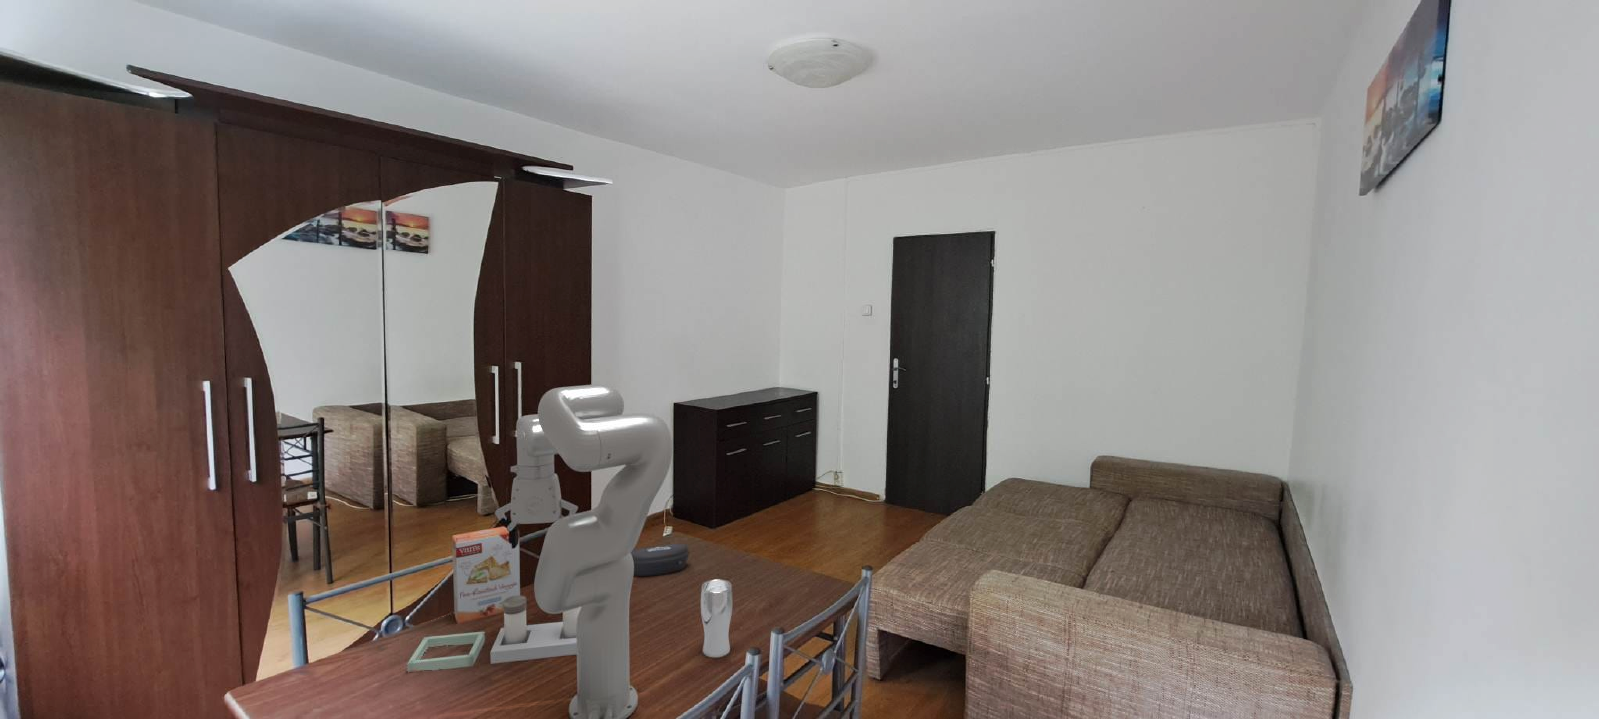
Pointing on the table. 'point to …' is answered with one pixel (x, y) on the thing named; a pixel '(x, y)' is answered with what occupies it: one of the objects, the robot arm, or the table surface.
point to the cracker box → (484, 573)
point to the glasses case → (660, 559)
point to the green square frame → (447, 662)
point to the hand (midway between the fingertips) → (537, 544)
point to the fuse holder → (534, 644)
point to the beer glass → (716, 617)
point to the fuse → (570, 623)
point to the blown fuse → (515, 620)
